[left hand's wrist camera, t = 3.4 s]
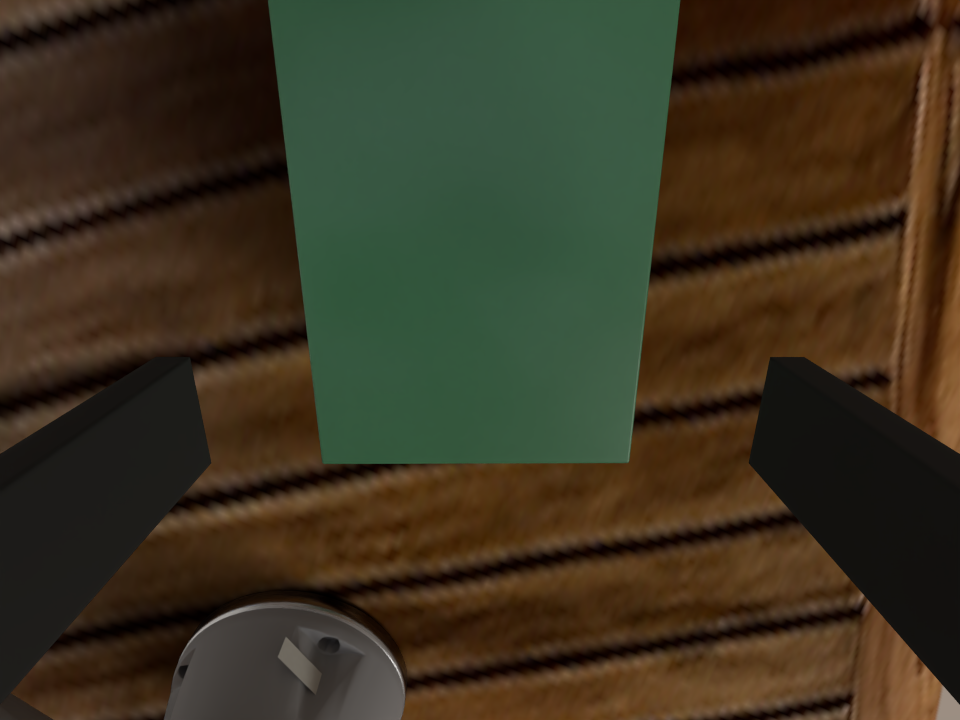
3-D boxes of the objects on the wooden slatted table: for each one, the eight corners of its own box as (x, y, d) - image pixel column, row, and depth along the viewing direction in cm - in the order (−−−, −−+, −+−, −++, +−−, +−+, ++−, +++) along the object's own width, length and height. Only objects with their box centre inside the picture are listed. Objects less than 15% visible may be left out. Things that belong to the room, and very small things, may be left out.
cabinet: (338, -119, 22) (225, -345, 12) (610, -118, 22) (720, -344, 12) (374, 361, 30) (321, 464, 20) (578, 360, 30) (629, 464, 20)
